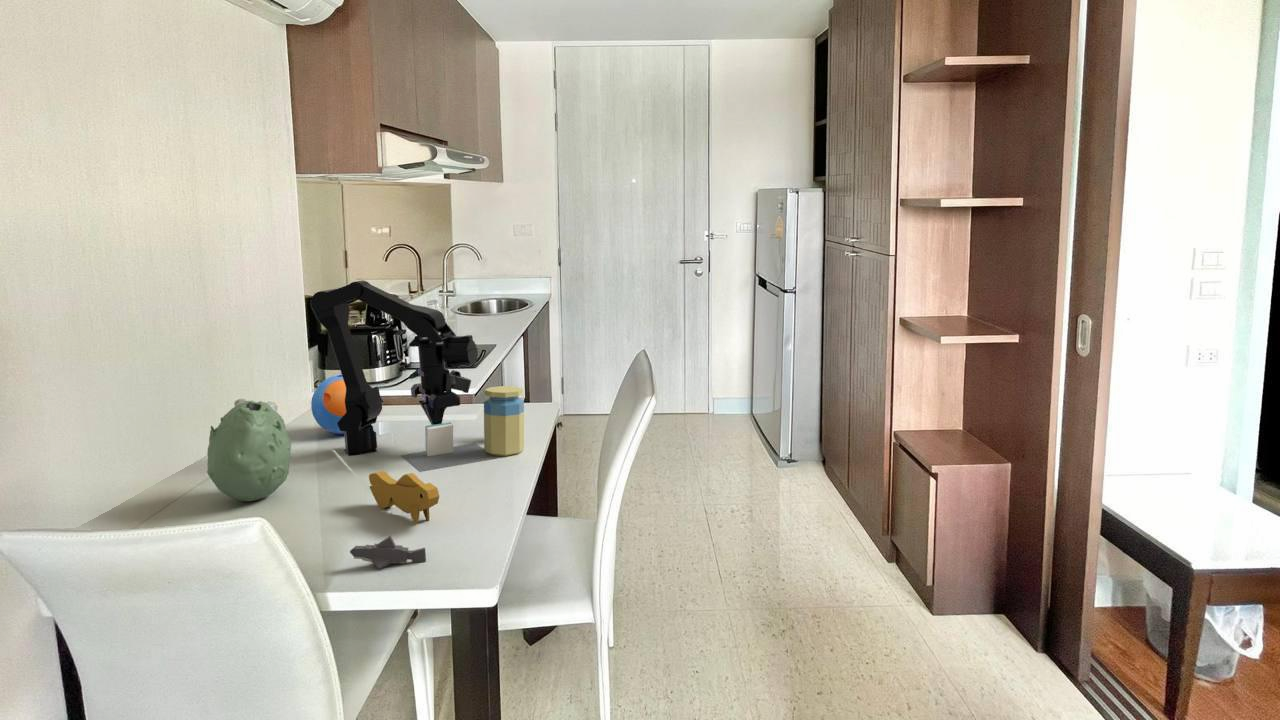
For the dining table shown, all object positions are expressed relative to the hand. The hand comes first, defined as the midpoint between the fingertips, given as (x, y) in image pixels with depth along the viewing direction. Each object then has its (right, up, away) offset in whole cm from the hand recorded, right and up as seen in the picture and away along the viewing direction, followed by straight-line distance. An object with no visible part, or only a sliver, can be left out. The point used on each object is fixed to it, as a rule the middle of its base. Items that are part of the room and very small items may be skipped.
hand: (437, 430), depth 206 cm
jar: (+16, -5, 0) cm, 16 cm away
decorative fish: (+3, -13, -40) cm, 42 cm away
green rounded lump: (-31, -12, -27) cm, 43 cm away
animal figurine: (+7, -17, -63) cm, 66 cm away
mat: (+3, -6, -3) cm, 7 cm away
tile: (0, -5, 0) cm, 5 cm away
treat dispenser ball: (-30, -3, +25) cm, 39 cm away
